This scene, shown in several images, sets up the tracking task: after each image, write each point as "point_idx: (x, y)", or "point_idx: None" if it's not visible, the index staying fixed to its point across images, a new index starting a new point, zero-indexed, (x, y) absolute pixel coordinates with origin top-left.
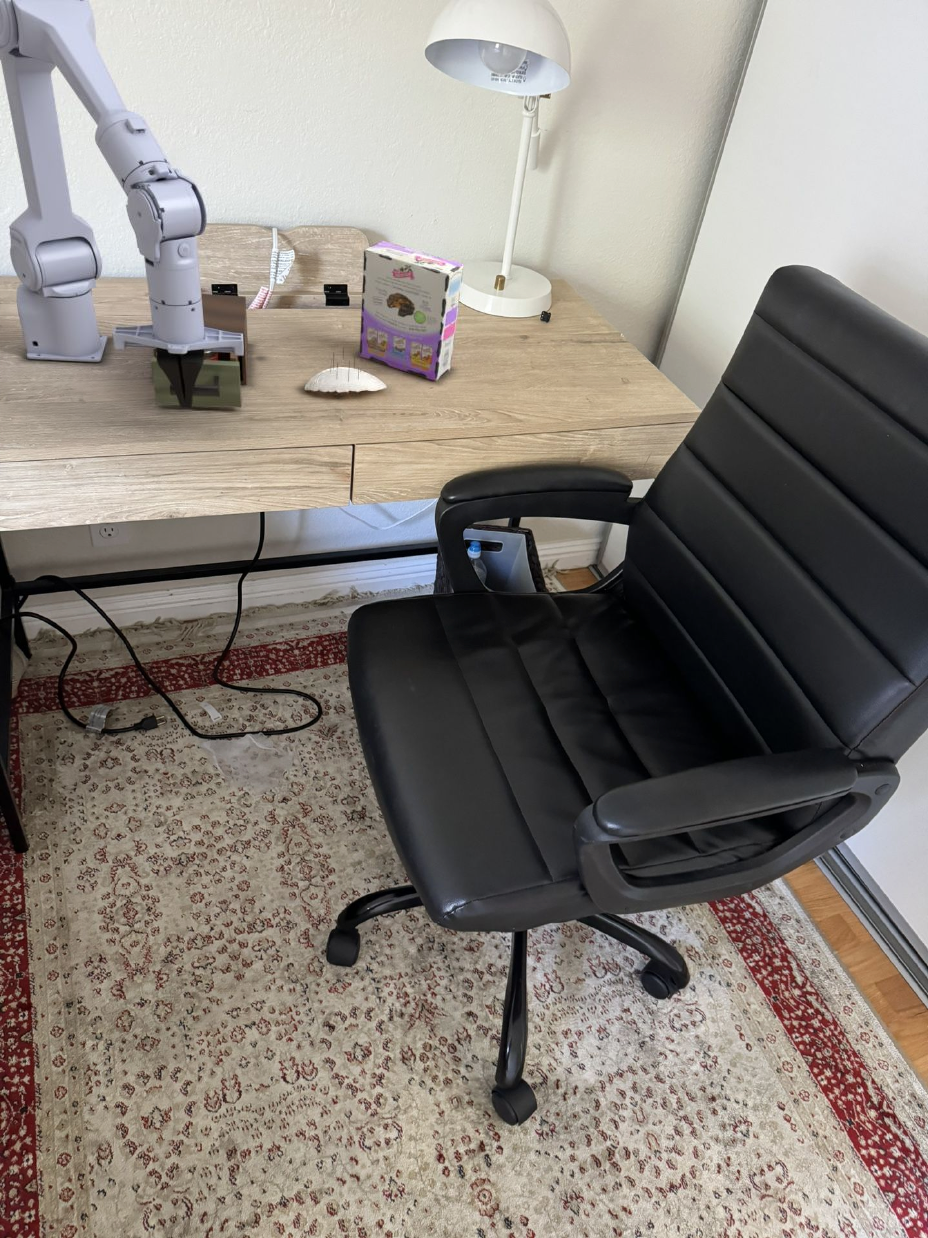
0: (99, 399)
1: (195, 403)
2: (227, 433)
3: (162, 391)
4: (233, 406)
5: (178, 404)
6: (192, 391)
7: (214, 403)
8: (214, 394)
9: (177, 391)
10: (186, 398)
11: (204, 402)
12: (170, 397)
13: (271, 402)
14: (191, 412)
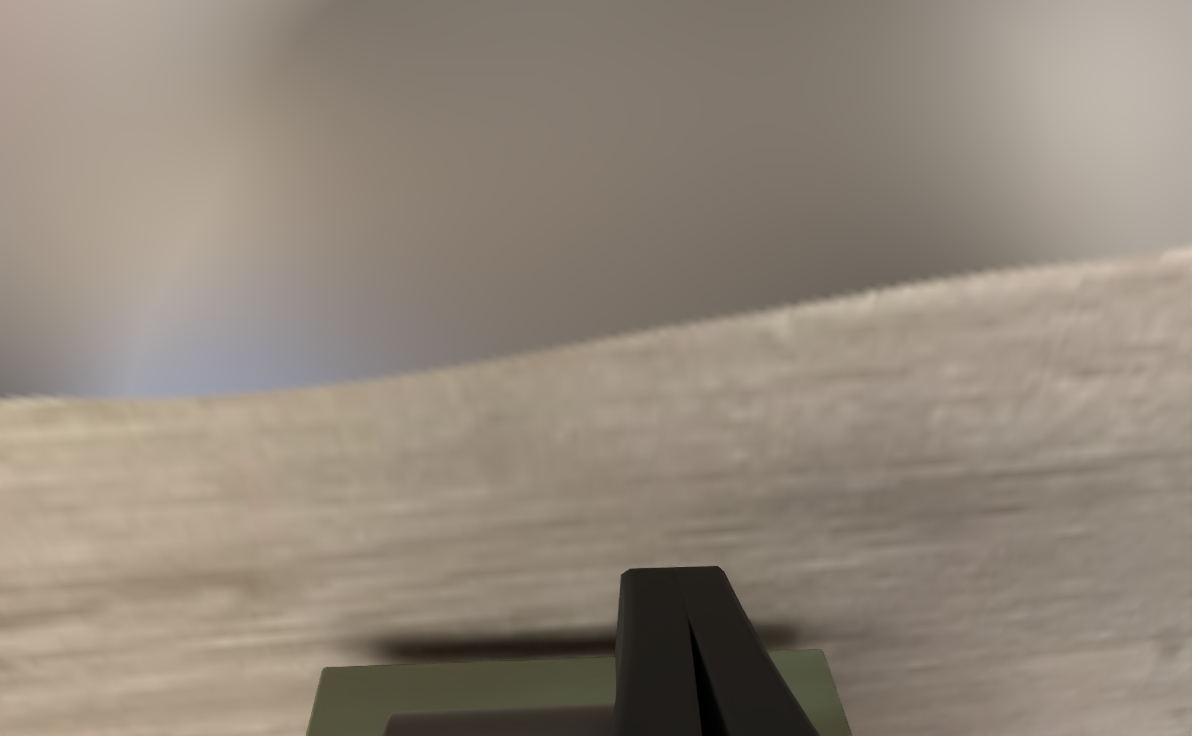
0: (1083, 663)
1: (601, 668)
2: (375, 437)
3: None
4: (369, 667)
5: None
6: (616, 733)
7: (485, 677)
8: (428, 729)
9: (783, 718)
10: (677, 649)
11: (546, 679)
12: None
13: (181, 721)
14: None
